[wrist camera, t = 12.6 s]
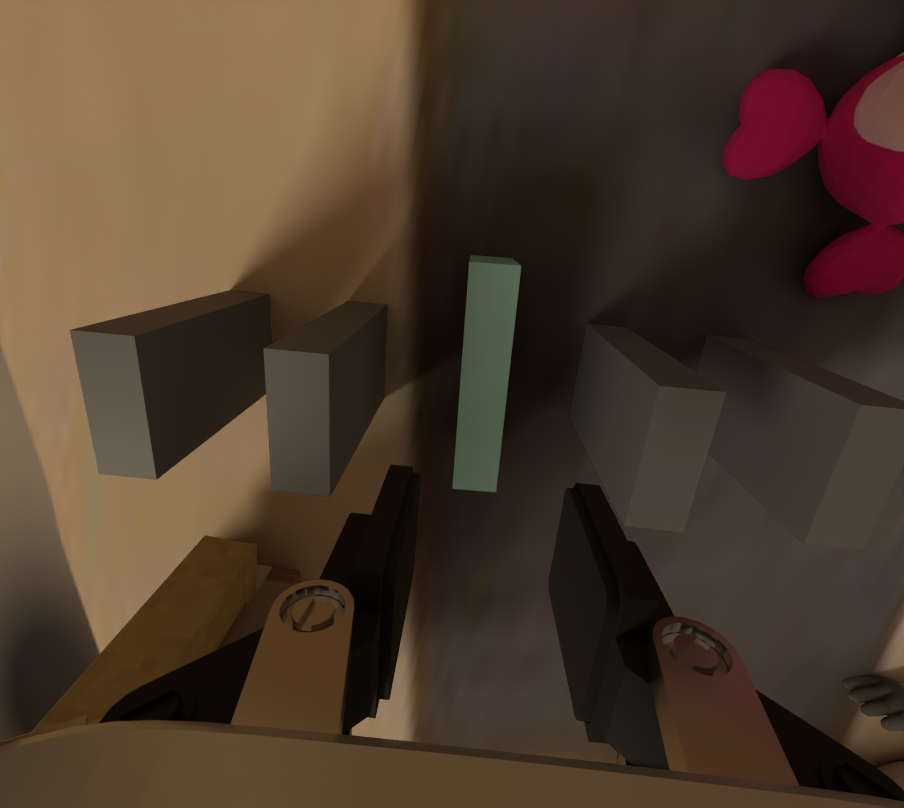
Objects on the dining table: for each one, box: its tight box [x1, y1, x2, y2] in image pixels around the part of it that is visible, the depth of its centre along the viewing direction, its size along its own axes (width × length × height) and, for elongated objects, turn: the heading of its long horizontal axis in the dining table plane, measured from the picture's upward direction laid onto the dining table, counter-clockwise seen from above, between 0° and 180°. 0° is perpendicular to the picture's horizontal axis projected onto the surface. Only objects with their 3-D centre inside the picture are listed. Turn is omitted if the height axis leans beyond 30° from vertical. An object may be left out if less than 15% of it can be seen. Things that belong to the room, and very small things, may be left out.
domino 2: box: [264, 301, 387, 497], centre depth 20 cm, size 5×2×10 cm, turn 175°
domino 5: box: [697, 335, 904, 550], centre depth 20 cm, size 5×2×10 cm, turn 175°
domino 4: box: [569, 323, 726, 532], centre depth 20 cm, size 5×2×10 cm, turn 175°
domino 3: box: [452, 255, 521, 492], centre depth 22 cm, size 5×2×10 cm
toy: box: [32, 536, 300, 732], centre depth 21 cm, size 6×17×20 cm, turn 170°
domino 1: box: [70, 290, 272, 480], centre depth 20 cm, size 5×2×10 cm, turn 175°
